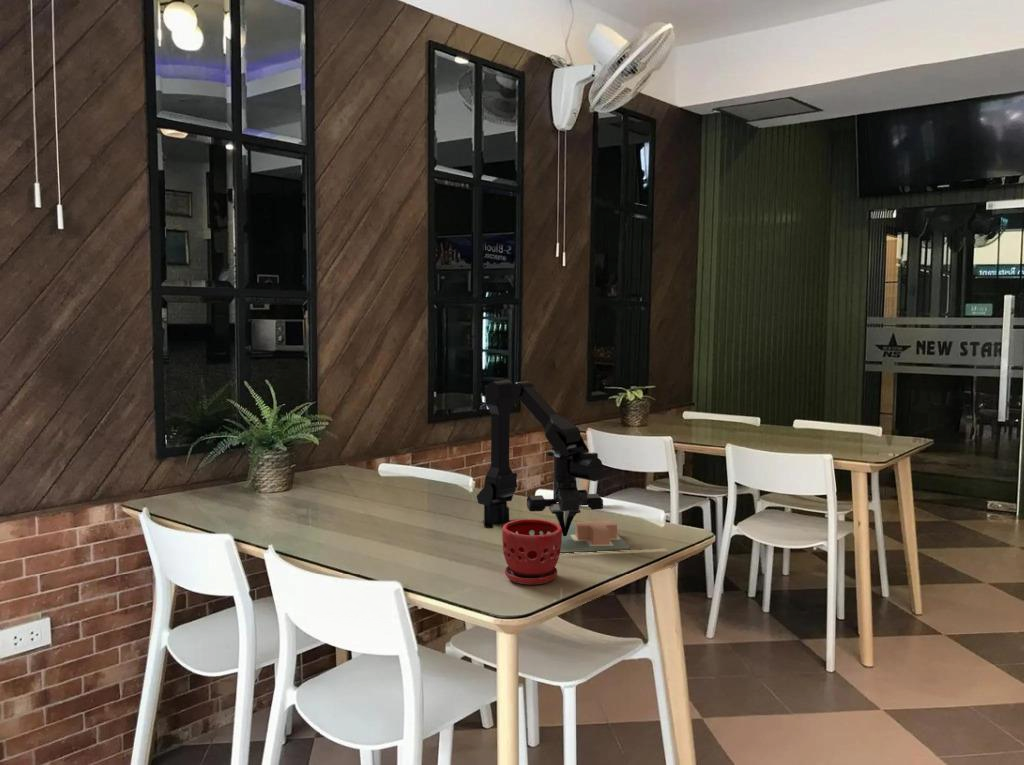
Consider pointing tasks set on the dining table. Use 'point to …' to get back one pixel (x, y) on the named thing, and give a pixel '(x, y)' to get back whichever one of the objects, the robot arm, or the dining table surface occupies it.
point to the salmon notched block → (596, 531)
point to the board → (586, 542)
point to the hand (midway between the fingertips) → (564, 535)
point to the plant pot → (531, 550)
